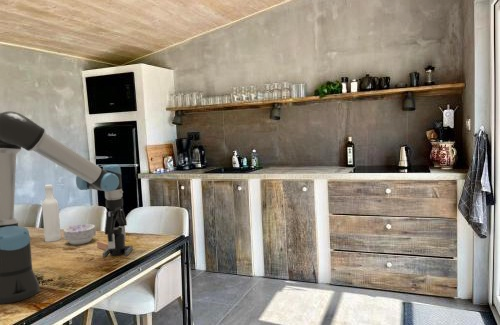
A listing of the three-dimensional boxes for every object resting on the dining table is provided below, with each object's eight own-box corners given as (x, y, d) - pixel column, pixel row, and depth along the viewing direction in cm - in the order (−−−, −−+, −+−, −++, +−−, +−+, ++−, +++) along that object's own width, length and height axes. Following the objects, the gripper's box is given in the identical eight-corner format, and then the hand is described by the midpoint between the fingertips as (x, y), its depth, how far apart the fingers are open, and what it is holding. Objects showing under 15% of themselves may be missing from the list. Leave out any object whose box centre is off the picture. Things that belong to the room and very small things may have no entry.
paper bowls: (69, 248, 192) (67, 232, 191) (61, 242, 204) (59, 227, 203) (100, 242, 201) (99, 227, 201) (91, 236, 213) (89, 222, 213)
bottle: (54, 242, 204) (49, 185, 202) (41, 242, 206) (36, 186, 204) (64, 238, 212) (60, 183, 210) (51, 237, 214) (47, 183, 211)
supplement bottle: (109, 257, 175) (107, 230, 174) (110, 252, 182) (108, 227, 181) (125, 255, 177) (123, 229, 176) (125, 250, 184) (124, 226, 183)
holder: (136, 244, 193) (136, 238, 193) (127, 255, 175) (127, 249, 175) (98, 246, 192) (97, 240, 192) (85, 258, 174) (84, 251, 174)
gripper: (111, 203, 165) (115, 251, 167) (131, 193, 190) (134, 236, 192) (94, 203, 165) (98, 252, 167) (116, 194, 190) (119, 236, 192)
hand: (117, 243), depth 179 cm, fingers open, 13 cm apart
